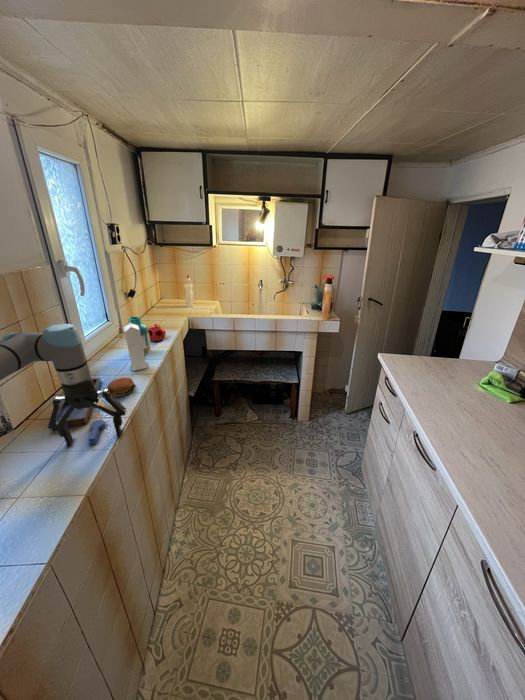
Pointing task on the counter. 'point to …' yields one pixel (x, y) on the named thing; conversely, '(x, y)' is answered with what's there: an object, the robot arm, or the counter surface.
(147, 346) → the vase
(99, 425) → the blue spoon
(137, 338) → the milk
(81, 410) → the tray
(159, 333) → the pomegranate
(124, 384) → the burger
